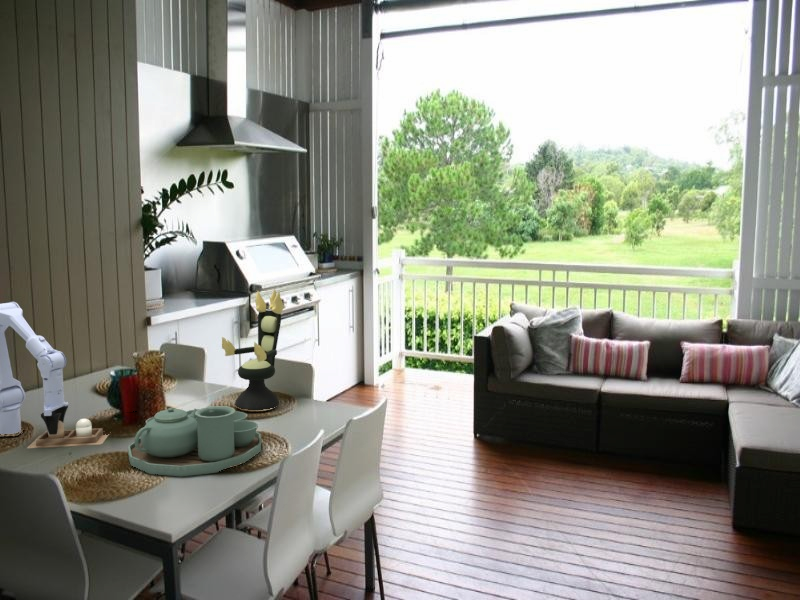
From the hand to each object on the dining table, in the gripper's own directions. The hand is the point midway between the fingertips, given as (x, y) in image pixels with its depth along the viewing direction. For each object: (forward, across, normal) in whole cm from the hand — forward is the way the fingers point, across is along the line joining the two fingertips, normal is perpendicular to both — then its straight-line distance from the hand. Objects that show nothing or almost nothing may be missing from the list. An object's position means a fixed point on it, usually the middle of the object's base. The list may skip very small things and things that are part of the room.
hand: (55, 431), depth 213 cm
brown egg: (+3, 0, 0) cm, 3 cm away
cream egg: (+3, 0, -8) cm, 9 cm away
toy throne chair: (+4, +31, -64) cm, 71 cm away
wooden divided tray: (+4, 0, -4) cm, 6 cm away
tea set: (+4, -17, -45) cm, 48 cm away
